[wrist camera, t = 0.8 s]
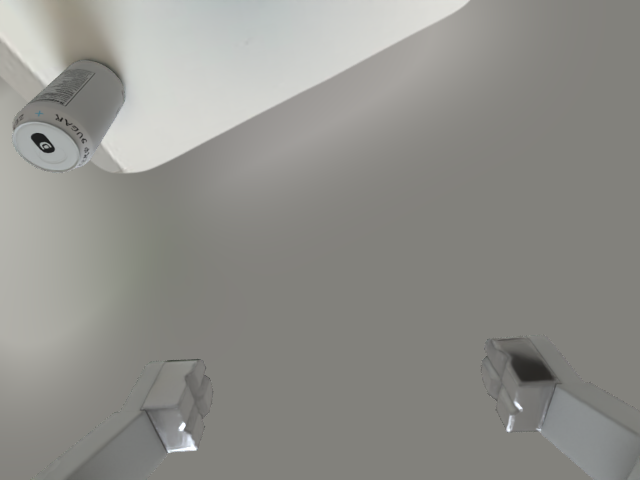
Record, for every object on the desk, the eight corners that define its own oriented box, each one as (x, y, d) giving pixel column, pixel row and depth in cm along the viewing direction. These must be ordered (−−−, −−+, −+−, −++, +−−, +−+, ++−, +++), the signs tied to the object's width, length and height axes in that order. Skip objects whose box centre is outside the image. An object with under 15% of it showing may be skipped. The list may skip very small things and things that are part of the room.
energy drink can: (90, 116, 43) (39, 185, 32) (54, 65, 39) (-17, 125, 28) (137, 103, 43) (102, 169, 32) (107, 51, 39) (55, 106, 28)
